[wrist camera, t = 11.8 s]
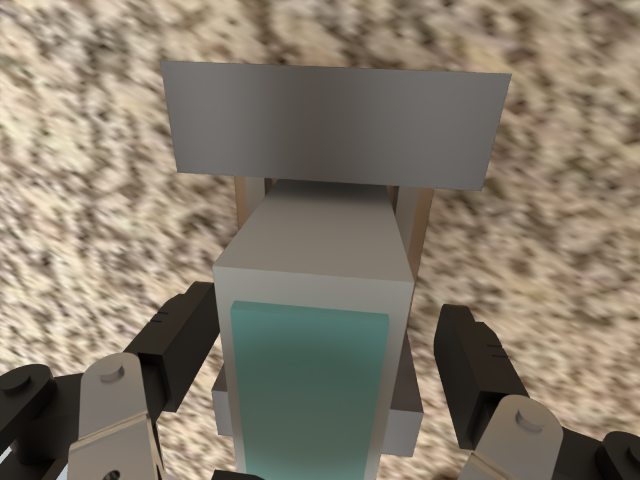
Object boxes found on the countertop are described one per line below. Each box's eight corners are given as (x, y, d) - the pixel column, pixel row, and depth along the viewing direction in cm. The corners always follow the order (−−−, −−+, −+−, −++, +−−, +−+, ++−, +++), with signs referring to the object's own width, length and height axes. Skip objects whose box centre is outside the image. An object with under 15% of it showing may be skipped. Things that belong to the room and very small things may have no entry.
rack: (446, 76, 14) (512, 73, 8) (395, 351, 21) (412, 457, 15) (237, 67, 15) (160, 60, 9) (255, 338, 21) (218, 435, 16)
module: (380, 169, 14) (416, 291, 6) (363, 315, 18) (371, 519, 10) (290, 163, 15) (206, 274, 6) (290, 308, 18) (236, 501, 10)
